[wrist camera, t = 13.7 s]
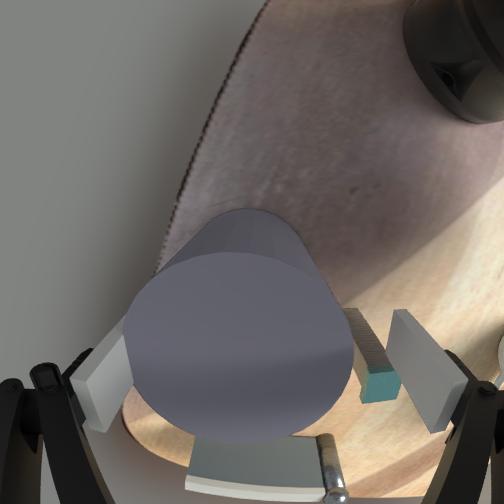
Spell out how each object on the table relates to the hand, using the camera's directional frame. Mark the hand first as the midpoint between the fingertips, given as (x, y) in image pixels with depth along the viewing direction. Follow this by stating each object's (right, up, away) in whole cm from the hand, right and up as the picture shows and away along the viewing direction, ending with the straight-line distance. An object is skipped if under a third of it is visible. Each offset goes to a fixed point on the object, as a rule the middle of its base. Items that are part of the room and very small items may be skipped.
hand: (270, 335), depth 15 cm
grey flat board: (0, -18, +16) cm, 24 cm away
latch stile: (+8, -2, +13) cm, 15 cm away
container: (-1, +3, +12) cm, 12 cm away
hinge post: (+8, -19, +17) cm, 27 cm away
